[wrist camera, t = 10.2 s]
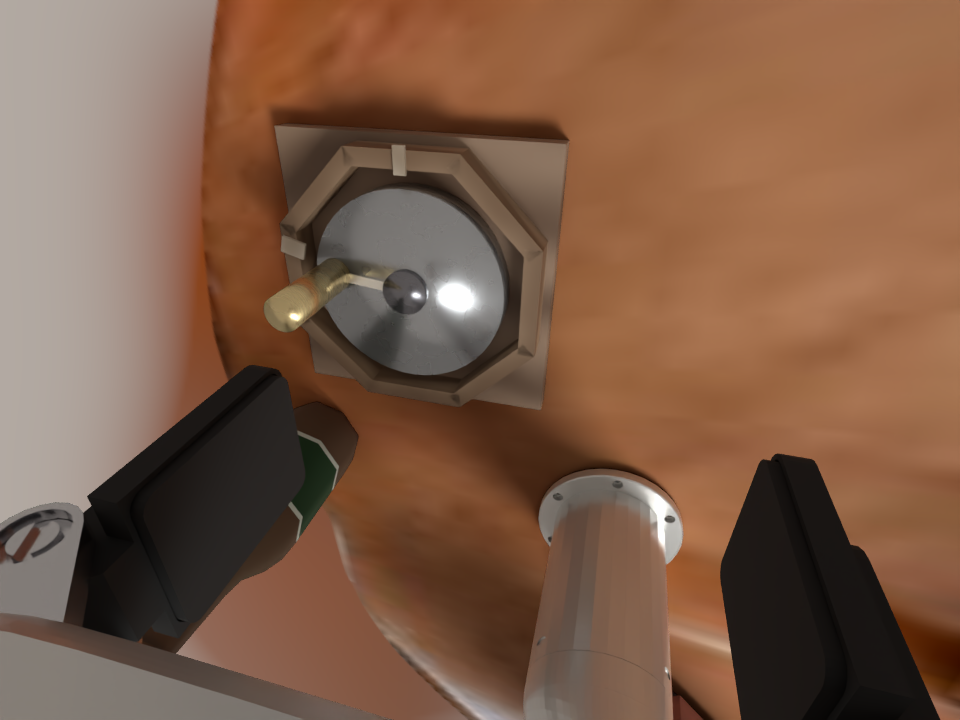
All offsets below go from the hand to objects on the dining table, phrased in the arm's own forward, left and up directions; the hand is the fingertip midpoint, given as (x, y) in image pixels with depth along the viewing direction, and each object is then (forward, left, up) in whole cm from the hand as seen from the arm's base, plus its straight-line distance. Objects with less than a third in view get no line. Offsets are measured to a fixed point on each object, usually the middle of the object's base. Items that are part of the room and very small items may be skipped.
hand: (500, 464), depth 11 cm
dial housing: (-8, +12, -28) cm, 32 cm away
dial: (-8, +12, -27) cm, 30 cm away
